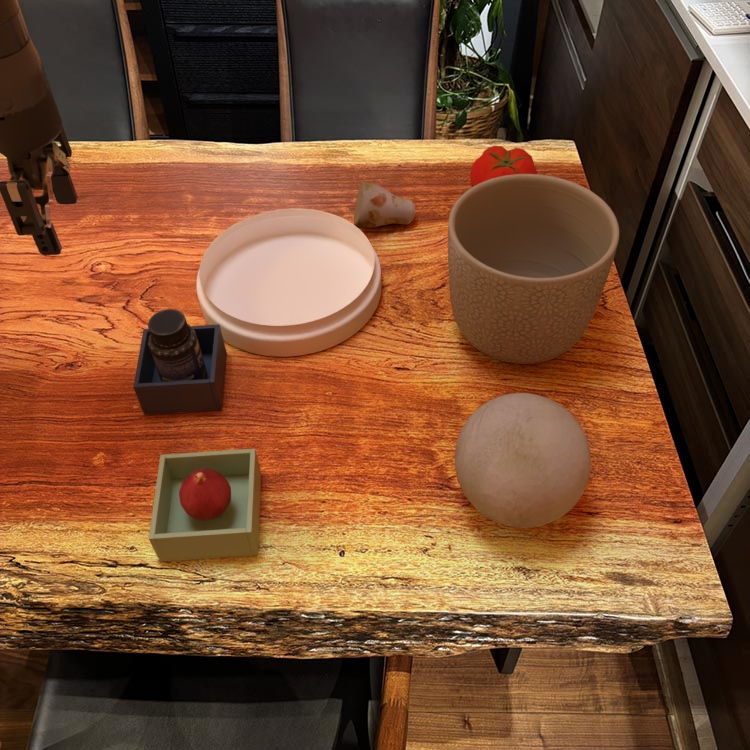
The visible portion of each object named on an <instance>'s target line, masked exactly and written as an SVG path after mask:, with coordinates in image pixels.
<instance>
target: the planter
mask: <svg viewBox="0 0 750 750" xmlns="http://www.w3.org/2000/svg"><path fill="white" fill-rule="evenodd" d="M619 240H620V227H619V222H618V219H617V217H616V214H615V213H614V210H612V209H611V207H610V206H609V205H608V204H607V203H606V201H604V199H603V198H601V197H600V196H599V195H597V194H596V192H593V191H592V190H590V189H588V188H586V187H585V186H582V185H581V184H578V183H576V182H574V181H571V180H568V179H565V178H561V177H557V176H552V175H548V174H547V175H546V174H539V173H538V174H514V175H506V176H501V177H496V178H493V179H490V180H487V181H484V182H482V183H479V184H477V185H475V186H474V187H472V186H471V188H469V189H467V190H466V191H465V192H464V193H462V194H461V196H460V197H458V198H457V200H455V203H454V204H453V206H452V207H451V210H450V213H449V217H448V225H447V265H448V267H447V268H448V269H447V270H448V287H449V298H450V304H451V312H452V315H453V319H454V322H455V324H456V326H457V328H458V329H459V331H460V333H461V335H462V336H463V337H464V338H465V340H466V341H467V342H468V343H469V344H470V345H471V346H473V348H475V349H476V350H478V351H479V352H481V353H482V354H484V355H486V356H488V357H490V358H493V359H495V360H497V361H501V362H505V363H511V364H517V365H518V364H519V365H528V364H538V363H543V362H547V361H550V360H553V359H555V358H558V357H559V356H562V355H564V354H565V353H567V352H568V351H569V350H571V349H572V348H573V347H574V346H575V345H576V344H577V343H578V342H579V341H580V340H581V338H582V337H583V336H584V334H585V333H586V331H587V329H588V328H589V325H590V324H591V322H592V319H593V317H594V315H595V312H596V310H597V307H598V305H599V303H600V300H601V298H602V295H603V292H604V289H605V286H606V284H607V281H608V279H609V275H610V272H611V269H612V266H613V263H614V260H615V256H616V253H617V248H618V245H619Z"/></svg>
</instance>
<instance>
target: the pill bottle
mask: <svg viewBox="0 0 750 750" xmlns="http://www.w3.org/2000/svg"><path fill="white" fill-rule="evenodd" d="M191 326H192V325H190V324H188V321H187V319H186V316H185V314H184V313H183V312H182V311H180V310H178V309H176V308H174V309H172V308H166V309H161V310H160V311H158V312H155V313H154V314H153V315H152V316H151V317H150V318H149V320H148V323H147V329H149V332H150V336H149V340H148V345H149V349H150V352H151V354H152V357H153V360H154V363H155V366H156V368H157V371H158V374H159V377H160V379H161V382H170V381H186V380H201V379H207V370H206V366H205V363H204V360H203V356H202V353H201V350H200V346H199V343H198V339H197V336H196V333H195V331H194V329H193V328H192V327H191Z"/></svg>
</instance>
